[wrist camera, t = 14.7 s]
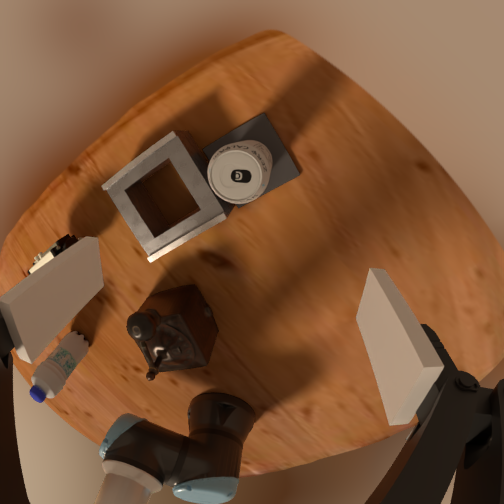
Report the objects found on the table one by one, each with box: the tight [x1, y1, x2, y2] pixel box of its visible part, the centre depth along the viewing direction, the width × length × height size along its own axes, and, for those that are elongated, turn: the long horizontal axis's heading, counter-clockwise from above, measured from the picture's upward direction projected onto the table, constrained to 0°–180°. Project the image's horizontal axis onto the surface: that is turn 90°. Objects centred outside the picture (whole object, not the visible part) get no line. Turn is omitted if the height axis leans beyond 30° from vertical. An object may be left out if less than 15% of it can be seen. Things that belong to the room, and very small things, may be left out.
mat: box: [203, 113, 300, 208], centre depth 41 cm, size 10×10×1 cm
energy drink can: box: [208, 140, 272, 204], centre depth 34 cm, size 6×6×15 cm
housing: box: [101, 131, 234, 263], centre depth 41 cm, size 13×13×7 cm
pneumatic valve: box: [28, 234, 83, 275], centre depth 43 cm, size 6×12×12 cm, turn 119°
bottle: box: [30, 331, 89, 403], centre depth 49 cm, size 7×7×20 cm
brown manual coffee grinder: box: [126, 284, 219, 381], centre depth 43 cm, size 16×11×18 cm
